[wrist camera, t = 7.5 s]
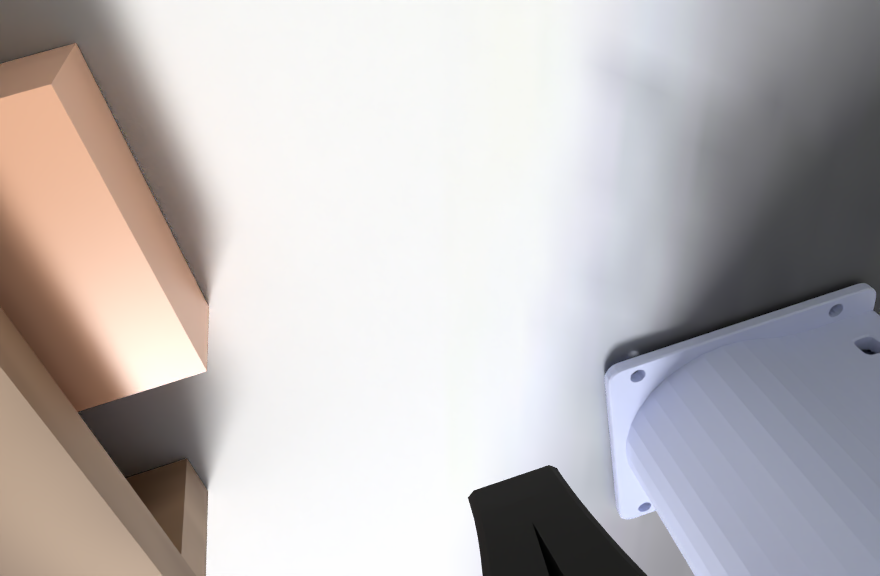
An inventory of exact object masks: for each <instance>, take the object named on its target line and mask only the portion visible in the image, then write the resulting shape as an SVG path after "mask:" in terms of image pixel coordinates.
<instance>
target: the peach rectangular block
mask: <svg viewBox="0 0 880 576" xmlns="http://www.w3.org/2000/svg"><path fill="white" fill-rule="evenodd" d="M0 307H1V308H2V309H3V311H4V312H5V313H6V315H7V316H8V318H9V319H10V320H11V322H12V323H13V324H14V326H15V327H16V329H17V330H18V331H19V333H20V334H21V335H22V337H23V338H24V340H25V341H26V342H27V344H28V345H29V346H30V348H31V349H32V350H33V352H34V353H35V355H36V356H37V357H38V359H39V360H40V361H41V363H42V364H43V366H44V367H45V368H46V370H47V371H48V372H49V374H50V375H51V377H52V378H53V379H54V381H55V382H56V383H57V385H58V386H59V388H60V389H61V390H62V392H63V393H64V394H65V396H66V397H67V399H68V400H69V401H70V403H71V404H72V405H73V407H74V408H75V410H76V411H77V412H79V411H82V410H85V409H88V408H92V407H95V406H98V405H101V404H104V403H108V402H111V401H114V400H117V399H120V398H123V397H127V396H130V395H133V394H136V393H139V392H143V391H146V390H149V389H152V388H155V387H159V386H162V385H165V384H168V383H171V382H174V381H178V380H181V379H184V378H187V377H190V376H194V375H197V374H200V373H203V372H206V371H207V353H208V324H209V306H208V304H207V302H206V300H205V298H204V296H203V294H202V292H201V290H200V288H199V286H198V284H197V282H196V280H195V278H194V276H193V274H192V272H191V270H190V268H189V266H188V264H187V262H186V260H185V258H184V256H183V254H182V252H181V250H180V248H179V246H178V244H177V243H176V241H175V239H174V237H173V235H172V233H171V231H170V229H169V227H168V225H167V223H166V221H165V219H164V217H163V215H162V213H161V211H160V209H159V207H158V205H157V203H156V201H155V199H154V197H153V195H152V193H151V191H150V189H149V187H148V185H147V183H146V181H145V179H144V177H143V175H142V173H141V171H140V169H139V167H138V165H137V163H136V161H135V159H134V157H133V155H132V153H131V151H130V149H129V147H128V145H127V143H126V141H125V139H124V137H123V135H122V133H121V131H120V129H119V127H118V125H117V123H116V121H115V119H114V117H113V115H112V113H111V111H110V109H109V107H108V105H107V103H106V101H105V99H104V97H103V95H102V93H101V91H100V89H99V87H98V85H97V83H96V81H95V79H94V77H93V75H92V73H91V71H90V69H89V67H88V65H87V63H86V61H85V60H84V58H83V56H82V54H81V52H80V50H79V48H78V46H77V44H76V43H74V44H70V45H66V46H63V47H59V48H56V49H52V50H48V51H45V52H41V53H37V54H34V55H30V56H26V57H23V58H19V59H15V60H12V61H8V62H4V63H1V64H0Z"/></svg>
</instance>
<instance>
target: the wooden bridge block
mask: <svg viewBox="0 0 880 576" xmlns="http://www.w3.org/2000/svg"><path fill="white" fill-rule="evenodd" d="M207 509H208V491H207V489H206V487H205V486H204V484H203V483H202V481H201V480H200V478H199V476H198V475H197V473H196V472H195V470H194V468H193V467H192V465H191V464H190V462H189V461H188V459H187V458H186V459H183V460H180V461H177V462H174V463H171V464H168V465H165V466H162V467H159V468H155V469H152V470H149V471H146V472H143V473H140V474H137V475H134V476H131V477H128V478H125V477H124V476H123V474H122V473H121V471H120V470H119V469H118V467H117V466H116V465H115V463H114V462H113V460H112V459H111V458H110V456H109V455H108V454H107V452H106V451H105V449H104V448H103V447H102V445H101V444H100V443H99V441H98V440H97V438H96V437H95V436H94V434H93V433H92V432H91V430H90V429H89V427H88V426H87V425H86V423H85V422H84V421H83V419H82V418H81V416H80V415H79V414H78V412H77V411H76V410H75V408H74V407H73V405H72V404H71V403H70V401H69V400H68V399H67V397H66V396H65V394H64V393H63V392H62V390H61V389H60V388H59V386H58V385H57V383H56V382H55V381H54V379H53V378H52V377H51V375H50V374H49V372H48V371H47V370H46V368H45V367H44V366H43V364H42V363H41V361H40V360H39V359H38V357H37V356H36V355H35V353H34V352H33V350H32V349H31V348H30V346H29V345H28V344H27V342H26V341H25V340H24V338H23V337H22V335H21V334H20V333H19V331H18V330H17V329H16V327H15V326H14V324H13V323H12V322H11V320H10V319H9V318H8V316H7V315H6V313H5V312H4V311H3V309H2V308H1V307H0V576H206V546H207Z"/></svg>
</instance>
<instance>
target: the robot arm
mask: <svg viewBox="0 0 880 576" xmlns="http://www.w3.org/2000/svg"><path fill="white" fill-rule="evenodd" d="M875 299H876V291H875V290H874V289H873V288H872V287H871V286H869V285H868V284H865V283H860V284H856V285H853V286H850V287H847V288H844V289H841V290H838V291H835V292H832V293H829V294H826V295H823V296H819V297H816V298H813V299H810V300H807V301H804V302H801V303H798V304H795V305H792V306H789V307H786V308H783V309H780V310H777V311H774V312H771V313H768V314H765V315H762V316H759V317H756V318H753V319H750V320H747V321H743V322H740V323H737V324H734V325H731V326H728V327H725V328H722V329H719V330H716V331H713V332H710V333H707V334H704V335H701V336H698V337H695V338H692V339H689V340H686V341H683V342H680V343H677V344H674V345H670V346H667V347H664V348H661V349H658V350H655V351H652V352H649V353H646V354H643V355H640V356H637V357H634V358H631V359H628V360H625V361H622V362H619V363H616V364H614V365H612V366H611V367H610V368H609V369H608V370H607V372H606V374H605V378H604V379H605V390H606V401H607V412H608V423H609V434H610V445H611V456H612V467H613V478H614V489H615V500H616V509H617V511H618V513H619V515H620V517H621V518H623V519H633V518H636V517H639V516H641V515H644V514H647V513H650V512H653V511H657V513H658V515H659V516H660V518H661V520H662V521H663V523H664V525H665V526H666V528H667V530H668V531H669V533H670V535H671V536H672V538H673V540H674V541H675V543H676V545H677V546H678V548H679V550H680V551H681V553H682V555H683V556H684V558H685V560H686V561H687V563H688V565H689V567H690V568H691V570H692V572H693V573H694V575H695V576H880V315H878V314H877V313H876V312H875V311H873V309H874V304H875ZM637 370H638V371H637ZM635 371H637V372H636V373H634V372H635ZM633 373H634V374H633ZM468 499H469V503H470V506H471V510H472V513H473V517H474V521H475V525H476V530H477V535H478V541H479V548H480V555H481V564H482V573H483V576H647V575H646V574H645V573H644V572H643V571H642V570H641V569H640V568H639V567H638V565H637V564H636V563H635V562H634V561H633V560H632V559H631V558H630V557H629V556H628V555H627V554H626V553H625V552H624V551H623V550H622V549H621V547H620V546H619V545H618V544H617V543H616V542H615V541H614V540H613V539H612V538H611V536H610V535H609V534H608V533H607V532H606V531H605V529H604V528H603V527H602V526H601V525H600V524H599V523H598V521H597V520H596V519H595V518H594V517H593V516H592V514H591V513H590V512H589V511H588V509H587V508H586V507H585V506H584V505H583V503H582V502H581V501H580V500H579V498H578V497H577V496H576V494H575V493H574V492H573V490H572V489H571V488H570V486H569V485H568V484H567V482H566V481H565V480H564V478H563V477H562V475H561V474H560V472H559V471H558V469H557V468H555V467H553V466H550V465H548V466H545V467H542V468H539V469H536V470H533V471H530V472H527V473H524V474H522V475H519V476H516V477H513V478H510V479H507V480H504V481H501V482H498V483H495V484H492V485H489V486H486V487H483V488H480V489H477V490H474V491H473V492H472V493H471V495H470V496H469V497H468Z"/></svg>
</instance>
